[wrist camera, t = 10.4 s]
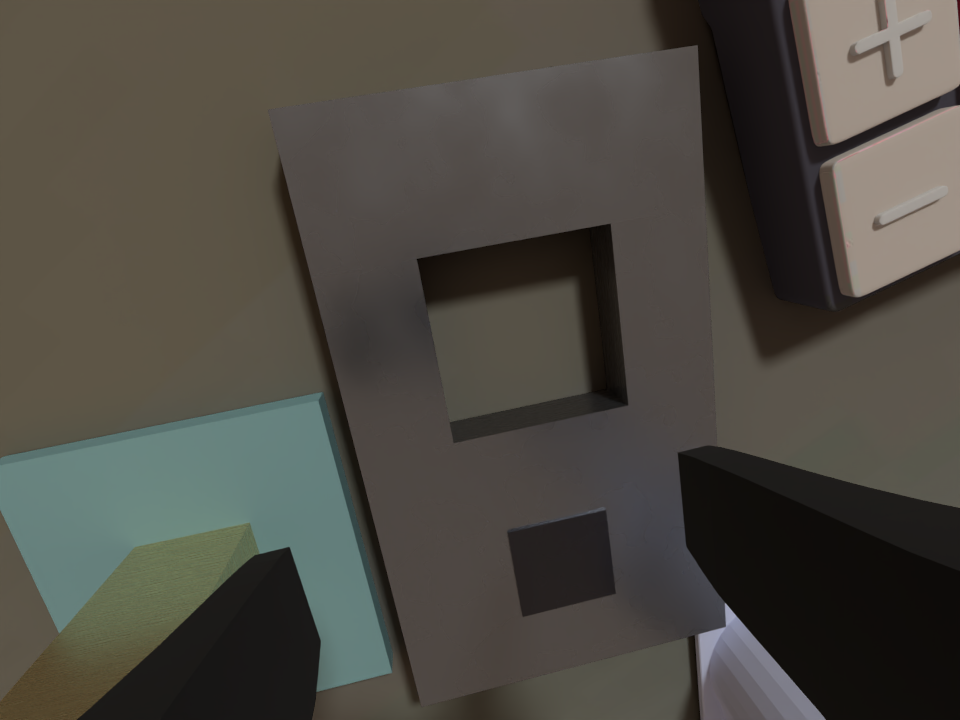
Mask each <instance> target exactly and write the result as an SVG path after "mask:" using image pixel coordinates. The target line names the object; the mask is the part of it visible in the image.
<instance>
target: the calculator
mask: <svg viewBox="0 0 960 720" xmlns="http://www.w3.org/2000/svg"><path fill="white" fill-rule="evenodd" d="M698 2H699V5H700V9H701V13H702V15H703V17H704V18H705V20H706V21H707V22H708V24H709V25H710V27H711V29H712V32H713V36H714V40H715V45H716V49H717V54H718V58H719V63H720V67H721V71H722V76H723V80H724V85H725V89H726V94H727V98H728V102H729V107H730V111H731V116H732V120H733V124H734V129H735V133H736V138H737V142H738V147H739V151H740V155H741V160H742V164H743V169H744V173H745V177H746V182H747V186H748V191H749V195H750V199H751V203H752V207H753V211H754V215H755V219H756V223H757V227H758V231H759V235H760V238H761V242H762V246H763V250H764V254H765V258H766V262H767V266H768V269H769V273H770V277H771V281H772V285H773V289H774V292H775V295H776V296H777V297H778V298H779V299H781V300H785V301H790V302H794V303H798V304H802V305H806V306H811V307H815V308H819V309H823V310H828V311H833V312H835V311H839V310H842V309H844V308H846V307H849V306H851V305H853V304H855V303H857V302H859V301H861V300H863V299H866V298H868V297H870V296H872V295H874V294H876V293H878V292H880V291H882V290H885V289H887V288H889V287H891V286H893V285H895V284H897V283H899V282H901V281H904V280H906V279H908V278H910V277H912V276H914V275H916V274H918V273H921V272H923V271H925V270H927V269H929V268H931V267H933V266H935V265H937V264H940V263H942V262H944V261H946V260H948V259H950V258H952V257H954V256H956V255H959V254H960V0H698Z"/></svg>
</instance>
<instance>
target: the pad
mask: <svg viewBox="0 0 960 720" xmlns="http://www.w3.org/2000/svg"><path fill="white" fill-rule="evenodd" d="M0 510H1V512H2V514H3V516H4V519H5V521H6V523H7V525H8V527H9V529H10V531H11V533H12V535H13V537H14V539H15V542H16V544H17V546H18V548H19V550H20V552H21V554H22V556H23V558H24V560H25V562H26V565H27V567H28V569H29V571H30V573H31V575H32V577H33V579H34V581H35V583H36V585H37V588H38V590H39V592H40V594H41V596H42V598H43V600H44V602H45V604H46V606H47V608H48V611H49V613H50V615H51V617H52V619H53V621H54V623H55V625H56V627H57V629H58V631H59V633H60V632H61V631H62V630H63V629H64V628H65V627H66V626H67V624H68V623H69V622H70V621H71V620H72V619H73V617H74V616H75V615H76V614H77V613H78V612H79V611H80V609H81V608H82V607H83V606H84V605H85V604H86V603H87V601H88V600H89V599H90V598H91V597H92V596H93V594H94V593H95V592H96V591H97V590H98V589H99V588H100V586H101V585H102V584H103V583H104V582H105V581H106V580H107V578H108V577H109V576H110V575H111V574H112V573H113V571H114V570H115V569H116V568H117V567H118V566H119V565H120V563H121V562H122V561H123V560H124V559H125V558H126V557H127V555H128V554H129V553H130V552H131V551H132V550H133V548H134V547H138V546H142V545H147V544H152V543H156V542H161V541H166V540H170V539H175V538H180V537H184V536H189V535H194V534H198V533H203V532H208V531H213V530H217V529H222V528H227V527H231V526H236V525H241V524H245V523H250V525H251V528H252V531H253V534H254V537H255V540H256V544H257V547H258V550H259V553H260V554H262V553H266V552H270V551H274V550H278V549H282V548H286V547H290V549H291V552H292V555H293V558H294V561H295V564H296V567H297V570H298V573H299V576H300V579H301V582H302V585H303V588H304V592H305V595H306V598H307V601H308V604H309V607H310V610H311V613H312V616H313V619H314V622H315V625H316V628H317V631H318V634H319V637H320V640H321V648H320V660H319V672H318V681H317V691H316V692H318V691H322V690H326V689H330V688H334V687H338V686H342V685H346V684H349V683H353V682H357V681H361V680H365V679H369V678H373V677H377V676H381V675H385V674H389V673H392V660H393V652H392V649H391V645H390V641H389V637H388V634H387V630H386V626H385V622H384V619H383V615H382V611H381V607H380V604H379V600H378V596H377V592H376V589H375V585H374V581H373V577H372V574H371V570H370V566H369V562H368V559H367V555H366V551H365V547H364V544H363V540H362V536H361V533H360V529H359V525H358V521H357V518H356V514H355V510H354V506H353V503H352V499H351V495H350V491H349V488H348V484H347V480H346V476H345V473H344V469H343V465H342V461H341V458H340V454H339V450H338V446H337V443H336V439H335V435H334V431H333V428H332V424H331V420H330V417H329V413H328V409H327V405H326V402H325V398H324V394H323V392H320V393H316V394H311V395H306V396H301V397H296V398H291V399H286V400H281V401H276V402H271V403H266V404H261V405H256V406H251V407H246V408H241V409H236V410H231V411H227V412H222V413H217V414H212V415H207V416H202V417H197V418H192V419H187V420H182V421H177V422H172V423H167V424H162V425H157V426H152V427H147V428H142V429H137V430H133V431H128V432H123V433H118V434H113V435H108V436H103V437H98V438H93V439H88V440H83V441H78V442H73V443H68V444H63V445H58V446H53V447H48V448H44V449H39V450H34V451H29V452H24V453H19V454H14V455H9V456H4V457H2V458H1V459H0Z"/></svg>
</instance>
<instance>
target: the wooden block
mask: <svg viewBox="0 0 960 720" xmlns="http://www.w3.org/2000/svg"><path fill="white" fill-rule="evenodd" d="M257 554H260V553H259V550H258V547H257V544H256V540H255V537H254V534H253V531H252V528H251V525H250V523H245V524H241V525H236V526H231V527H227V528H222V529H217V530H213V531H208V532H203V533H198V534H194V535H189V536H184V537H180V538H175V539H170V540H166V541H161V542H156V543H152V544H147V545H142V546H138V547H134V548H133V550H132V551H131V552H130V553H129V554H128V555H127V557H126V558H125V559H124V560H123V561H122V562H121V563H120V565H119V566H118V567H117V568H116V569H115V570H114V571H113V573H112V574H111V575H110V576H109V577H108V578H107V580H106V581H105V582H104V583H103V584H102V585H101V586H100V588H99V589H98V590H97V591H96V592H95V593H94V594H93V596H92V597H91V598H90V599H89V600H88V601H87V603H86V604H85V605H84V606H83V607H82V608H81V609H80V611H79V612H78V613H77V614H76V615H75V616H74V617H73V619H72V620H71V621H70V622H69V623H68V624H67V626H66V627H65V628H64V629H63V630H62V631H61V632H60V634H59V635H58V636H57V637H56V638H55V639H54V640H53V642H52V643H51V644H50V645H49V646H48V647H47V649H46V650H45V651H44V652H43V653H42V654H41V655H40V657H39V658H38V659H37V660H36V661H35V662H34V663H33V665H32V666H31V667H30V668H29V669H28V670H27V671H26V673H25V674H24V675H23V676H22V677H21V678H20V680H19V681H18V682H17V683H16V684H15V685H14V686H13V688H12V689H11V690H10V691H9V692H8V693H7V694H6V696H5V697H4V698H3V699H2V700H1V701H0V720H77V719H78V718H79V717H80V716H81V715H83V714H84V713H85V712H86V711H87V710H88V709H90V708H91V707H92V706H93V705H94V704H95V703H96V702H97V701H98V700H99V699H101V698H102V697H103V696H104V695H105V694H106V693H107V692H108V691H109V690H110V689H112V688H113V687H114V686H115V685H116V684H117V683H118V682H119V681H120V680H121V679H123V678H124V677H125V676H126V675H127V674H128V673H129V672H130V671H131V670H132V669H134V668H135V667H136V666H137V665H138V664H139V663H140V662H141V661H142V660H143V659H145V658H146V657H147V656H148V655H149V654H150V653H151V652H152V651H153V650H154V649H156V648H157V647H158V646H159V645H160V644H161V643H162V642H163V641H164V640H165V639H166V638H167V637H168V636H169V635H170V634H171V633H172V632H173V631H174V630H175V629H176V628H177V627H178V626H179V625H180V624H182V623H183V622H184V621H185V620H186V619H187V618H188V617H189V616H190V615H191V614H192V613H193V612H194V611H195V610H196V609H197V608H198V607H199V606H200V605H201V604H202V603H203V602H204V601H205V600H206V599H207V598H208V597H209V596H210V595H211V594H212V593H213V592H215V591H216V590H217V589H218V588H219V587H220V586H221V585H222V584H223V583H224V582H225V581H226V580H227V579H228V578H229V577H230V576H231V575H232V574H233V573H234V572H235V571H237V570H238V569H239V568H240V567H241V566H242V565H243V564H244V563H246V562H247V561H248V560H249V559H250V558H252V557H253V556H254V555H257Z"/></svg>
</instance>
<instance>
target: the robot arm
mask: <svg viewBox="0 0 960 720" xmlns="http://www.w3.org/2000/svg"><path fill="white" fill-rule="evenodd" d="M678 462H679V473H680V484H681V496H682V507H683V518H684V529H685V540H686V547H687V549H688V550H689V552H690V553H691V555H692V556H693V558H694V559H695V561H696V562H697V564H698V566H699V567H700V569H701V570H702V572H703V573H704V575H705V576H706V578H707V579H708V581H709V582H710V583H711V585H712V586H713V588H714V589H715V591H716V592H717V594H718V595H719V596H720V597H721V598H722V600H723V601H724V602H725V616H726V627H724V628H720V629H716V630H712V631H709V632H705V633H701V634H697V635H695V646H696V660H697V675H698V689H699V704H700V718H701V720H960V508H957V507H952V506H947V505H942V504H937V503H933V502H928V501H923V500H919V499H914V498H910V497H906V496H902V495H898V494H894V493H889V492H885V491H881V490H877V489H873V488H869V487H865V486H861V485H857V484H853V483H849V482H846V481H842V480H838V479H834V478H831V477H827V476H823V475H820V474H816V473H813V472H809V471H806V470H802V469H799V468H795V467H792V466H788V465H785V464H781V463H778V462H774V461H771V460H767V459H764V458H760V457H756V456H753V455H749V454H746V453H742V452H738V451H734V450H730V449H726V448H721V447H716V446H711V445H707V446H703V447H699V448H694V449H690V450H686V451H682V452H678ZM320 648H321V640H320V637H319V634H318V631H317V628H316V625H315V622H314V619H313V616H312V613H311V610H310V607H309V604H308V601H307V598H306V595H305V592H304V588H303V585H302V582H301V579H300V576H299V573H298V570H297V567H296V564H295V561H294V558H293V555H292V552H291V549H290V547H286V548H282V549H278V550H274V551H270V552H266V553H262V554H257V555H254V556H253V557H252V558H250V559H249V560H248V561H247V562H246V563H244V564H243V565H242V566H241V567H240V568H239V569H238V570H237V571H235V572H234V573H233V574H232V575H231V576H230V577H229V578H228V579H227V580H226V581H225V582H224V583H223V584H222V585H221V586H220V587H219V588H218V589H217V590H216V591H215V592H213V593H212V594H211V595H210V596H209V597H208V598H207V599H206V600H205V601H204V602H203V603H202V604H201V605H200V606H199V607H198V608H197V609H196V610H195V611H194V612H193V613H192V614H191V615H190V616H189V617H188V618H187V619H186V620H185V621H184V622H183V623H182V624H180V625H179V626H178V627H177V628H176V629H175V630H174V631H173V632H172V633H171V634H170V635H169V636H168V637H167V638H166V639H165V640H164V641H163V642H162V643H161V644H160V645H159V646H158V647H157V648H156V649H154V650H153V651H152V652H151V653H150V654H149V655H148V656H147V657H146V658H145V659H143V660H142V661H141V662H140V663H139V664H138V665H137V666H136V667H135V668H134V669H132V670H131V671H130V672H129V673H128V674H127V675H126V676H125V677H124V678H123V679H121V680H120V681H119V682H118V683H117V684H116V685H115V686H114V687H113V688H112V689H110V690H109V691H108V692H107V693H106V694H105V695H104V696H103V697H102V698H101V699H99V700H98V701H97V702H96V703H95V704H94V705H93V706H92V707H91V708H90V709H88V710H87V711H86V712H85V713H84V714H83V715H81V716H80V717H79V718H78V719H77V720H312V716H313V711H314V706H315V700H316V691H317V681H318V672H319V660H320Z"/></svg>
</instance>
